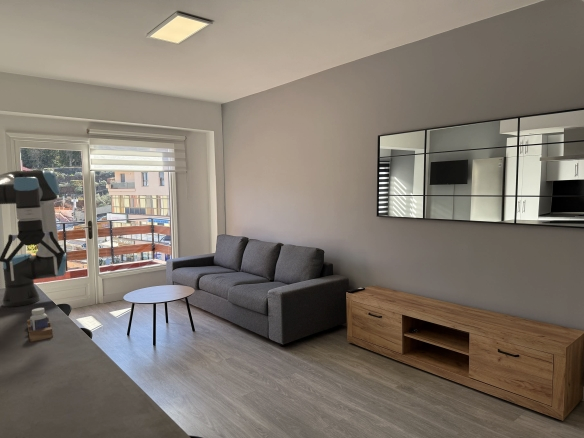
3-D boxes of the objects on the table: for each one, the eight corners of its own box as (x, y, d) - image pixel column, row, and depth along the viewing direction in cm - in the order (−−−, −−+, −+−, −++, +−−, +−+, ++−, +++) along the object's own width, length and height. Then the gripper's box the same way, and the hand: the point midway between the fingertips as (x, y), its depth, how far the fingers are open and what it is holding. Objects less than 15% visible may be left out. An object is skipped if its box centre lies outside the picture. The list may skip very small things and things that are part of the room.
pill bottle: (52, 332, 153) (49, 306, 152) (42, 337, 147) (39, 311, 147) (38, 332, 153) (36, 307, 152) (28, 337, 148) (25, 311, 147)
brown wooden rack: (28, 327, 160) (27, 319, 160) (48, 323, 164) (47, 315, 164) (30, 341, 143) (29, 333, 143) (52, 337, 147) (52, 329, 147)
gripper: (-14, 223, 137) (-8, 284, 139) (69, 217, 151) (74, 273, 153) (-13, 222, 143) (-7, 281, 145) (67, 216, 157) (72, 270, 159)
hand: (35, 277), depth 149 cm, fingers open, 13 cm apart
